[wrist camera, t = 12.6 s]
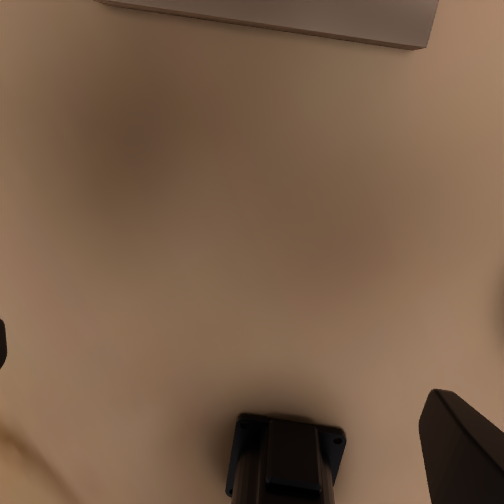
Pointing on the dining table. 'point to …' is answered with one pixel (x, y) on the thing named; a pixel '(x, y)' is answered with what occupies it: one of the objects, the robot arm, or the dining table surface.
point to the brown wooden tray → (313, 17)
